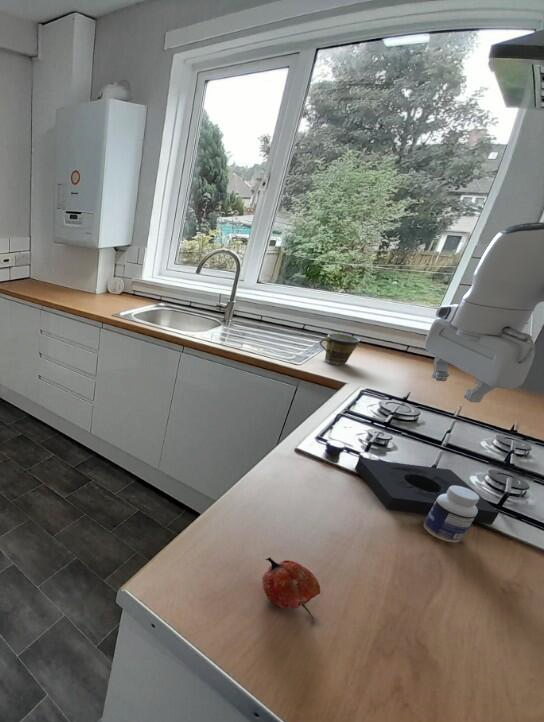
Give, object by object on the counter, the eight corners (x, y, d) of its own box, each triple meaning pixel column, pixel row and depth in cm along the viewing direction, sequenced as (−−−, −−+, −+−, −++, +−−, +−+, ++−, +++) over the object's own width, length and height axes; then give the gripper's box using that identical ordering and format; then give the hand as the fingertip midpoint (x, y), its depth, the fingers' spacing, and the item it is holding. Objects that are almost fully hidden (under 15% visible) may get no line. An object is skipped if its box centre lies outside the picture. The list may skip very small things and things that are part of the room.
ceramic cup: (339, 357, 162) (348, 333, 157) (357, 367, 153) (366, 342, 148) (306, 357, 162) (314, 333, 158) (321, 366, 153) (330, 341, 149)
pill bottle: (419, 518, 81) (440, 479, 77) (455, 528, 79) (479, 488, 75) (426, 536, 77) (448, 495, 73) (464, 547, 75) (490, 506, 70)
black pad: (444, 480, 92) (450, 469, 91) (492, 524, 80) (499, 512, 79) (354, 468, 96) (359, 458, 95) (386, 509, 84) (392, 497, 82)
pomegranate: (308, 606, 66) (268, 547, 69) (348, 606, 60) (303, 541, 63) (280, 632, 63) (240, 569, 66) (320, 634, 57) (273, 565, 60)
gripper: (563, 339, 63) (517, 417, 68) (470, 307, 81) (439, 371, 86) (513, 336, 64) (472, 413, 70) (432, 305, 82) (405, 368, 88)
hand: (453, 389), depth 78 cm, fingers open, 8 cm apart
